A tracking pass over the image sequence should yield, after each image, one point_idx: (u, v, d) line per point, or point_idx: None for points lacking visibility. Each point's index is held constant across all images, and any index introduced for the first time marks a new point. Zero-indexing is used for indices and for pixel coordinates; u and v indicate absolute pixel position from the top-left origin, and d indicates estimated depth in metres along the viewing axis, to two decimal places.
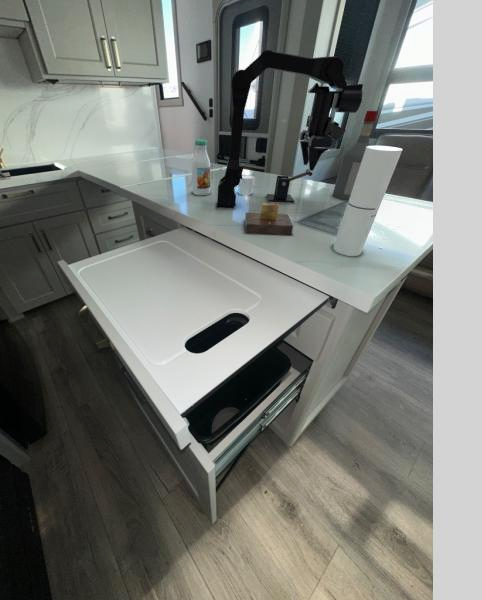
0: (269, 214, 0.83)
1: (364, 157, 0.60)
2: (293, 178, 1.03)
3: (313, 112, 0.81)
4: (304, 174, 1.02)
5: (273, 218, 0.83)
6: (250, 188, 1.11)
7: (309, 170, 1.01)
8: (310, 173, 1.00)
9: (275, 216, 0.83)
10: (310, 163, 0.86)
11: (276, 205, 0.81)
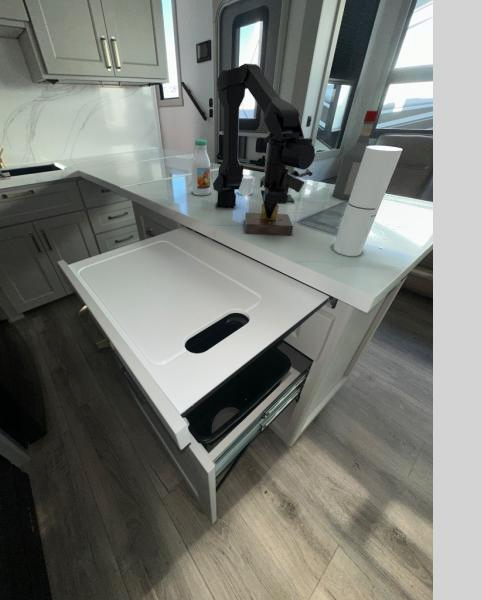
0: None
1: (364, 157, 0.60)
2: None
3: (268, 163, 0.73)
4: (304, 174, 1.02)
5: (273, 218, 0.83)
6: (250, 188, 1.11)
7: (309, 170, 1.01)
8: (310, 173, 1.00)
9: (275, 216, 0.83)
10: (266, 211, 0.81)
11: (276, 205, 0.81)
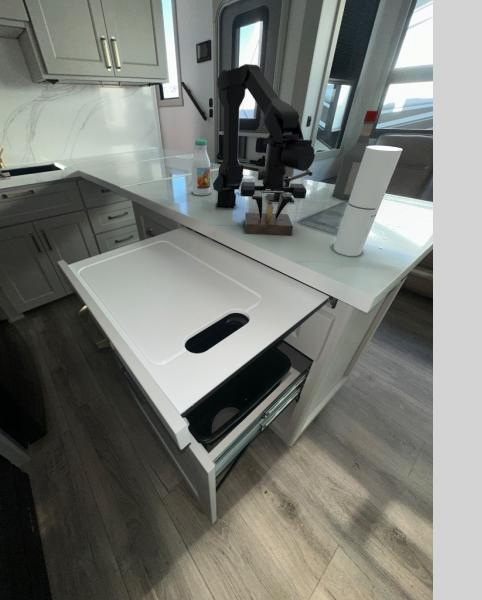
0: None
1: (364, 157, 0.60)
2: (293, 178, 1.03)
3: (282, 166, 0.72)
4: (304, 174, 1.02)
5: None
6: None
7: (309, 170, 1.01)
8: (310, 173, 1.00)
9: None
10: (280, 212, 0.82)
11: (271, 202, 0.83)
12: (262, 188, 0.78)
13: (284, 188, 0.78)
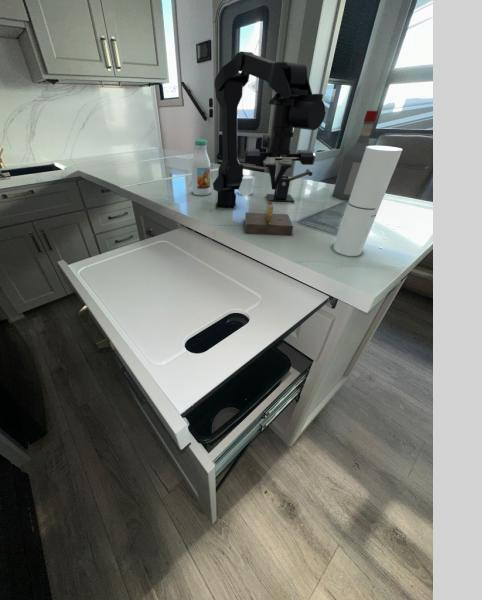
0: None
1: (364, 157, 0.60)
2: (293, 178, 1.03)
3: (289, 128, 0.67)
4: (304, 174, 1.02)
5: None
6: (250, 188, 1.11)
7: (309, 170, 1.01)
8: (310, 173, 1.00)
9: None
10: (278, 182, 0.77)
11: (271, 202, 0.83)
12: (267, 155, 0.73)
13: (291, 154, 0.73)
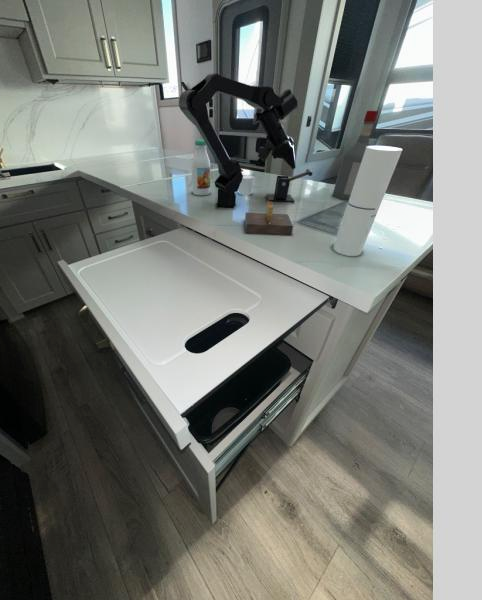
0: None
1: (364, 157, 0.60)
2: (293, 178, 1.03)
3: None
4: (304, 174, 1.02)
5: None
6: (250, 188, 1.11)
7: (309, 170, 1.01)
8: (310, 173, 1.00)
9: None
10: None
11: (271, 202, 0.83)
12: None
13: None
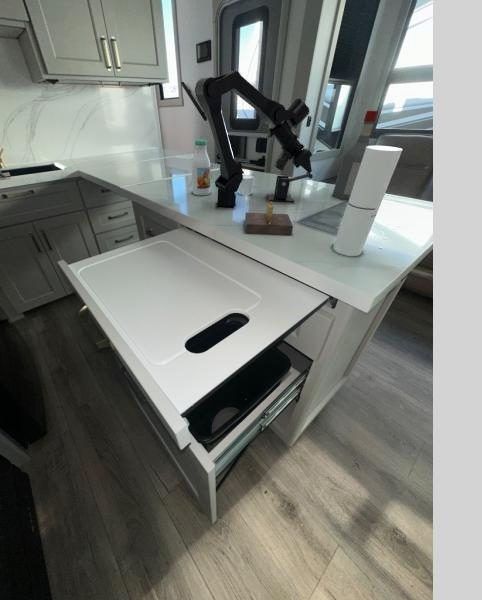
0: None
1: (364, 157, 0.60)
2: (293, 179, 1.03)
3: None
4: (304, 176, 1.02)
5: None
6: (250, 188, 1.11)
7: None
8: (310, 175, 1.00)
9: None
10: None
11: (271, 202, 0.83)
12: None
13: None
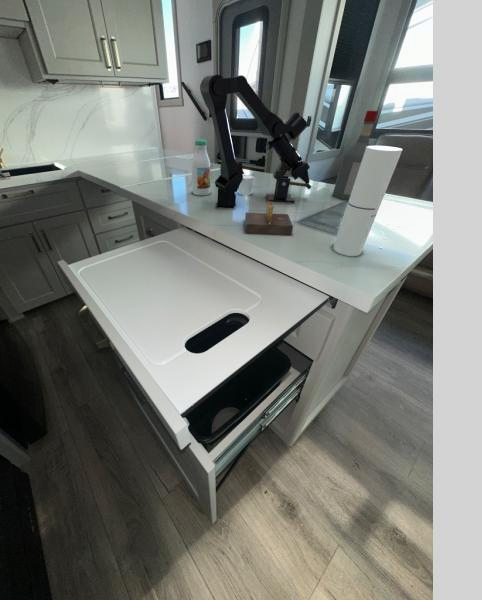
0: None
1: (364, 157, 0.60)
2: (293, 183, 1.04)
3: None
4: (303, 185, 1.04)
5: None
6: (250, 188, 1.11)
7: None
8: (309, 186, 1.02)
9: None
10: None
11: (271, 202, 0.83)
12: None
13: None
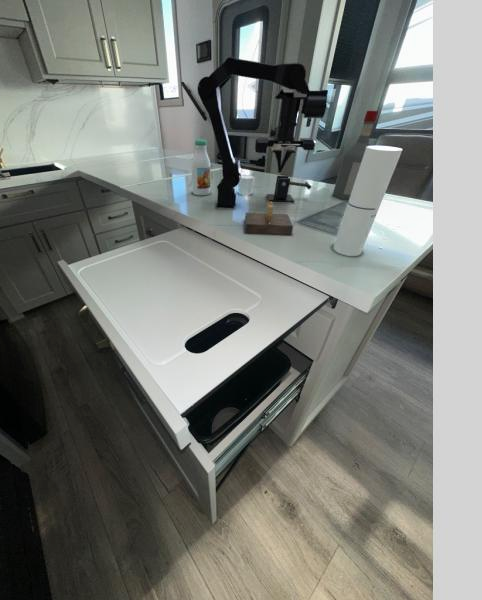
0: None
1: (364, 157, 0.60)
2: (293, 183, 1.04)
3: (293, 118, 0.80)
4: (303, 185, 1.04)
5: None
6: (250, 188, 1.11)
7: None
8: (309, 186, 1.02)
9: None
10: (283, 165, 0.89)
11: (271, 202, 0.83)
12: (274, 142, 0.86)
13: (294, 141, 0.85)
